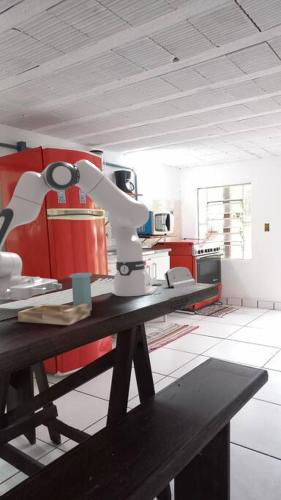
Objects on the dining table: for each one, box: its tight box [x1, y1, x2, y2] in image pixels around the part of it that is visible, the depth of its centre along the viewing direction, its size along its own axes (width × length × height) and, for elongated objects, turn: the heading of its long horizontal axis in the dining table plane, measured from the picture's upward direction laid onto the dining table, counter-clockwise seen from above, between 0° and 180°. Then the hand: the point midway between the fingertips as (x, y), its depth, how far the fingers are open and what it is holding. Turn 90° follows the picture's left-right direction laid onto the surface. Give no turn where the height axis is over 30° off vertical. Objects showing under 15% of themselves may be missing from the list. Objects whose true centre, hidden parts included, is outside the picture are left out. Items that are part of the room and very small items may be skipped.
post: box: [69, 272, 93, 312], centre depth 119 cm, size 6×6×13 cm
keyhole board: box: [17, 303, 91, 326], centre depth 111 cm, size 12×19×4 cm, turn 67°
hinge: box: [163, 266, 197, 289], centre depth 167 cm, size 17×5×10 cm, turn 134°
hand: (52, 288), depth 124 cm, fingers open, 8 cm apart
